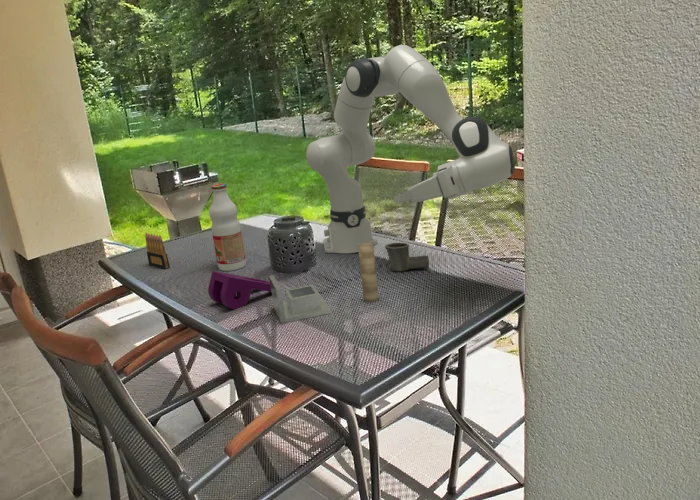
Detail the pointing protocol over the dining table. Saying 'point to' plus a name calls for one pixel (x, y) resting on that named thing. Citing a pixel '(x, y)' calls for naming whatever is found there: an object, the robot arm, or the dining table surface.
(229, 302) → the mounting bracket
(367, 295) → the tan wooden cylinder
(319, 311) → the cup bracket
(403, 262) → the pipe
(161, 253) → the ammunition clip
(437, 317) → the dining table surface
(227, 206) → the fruit juice
